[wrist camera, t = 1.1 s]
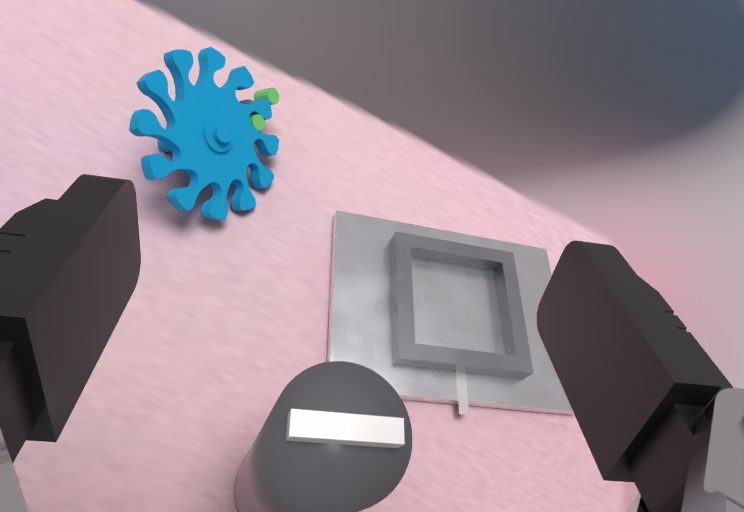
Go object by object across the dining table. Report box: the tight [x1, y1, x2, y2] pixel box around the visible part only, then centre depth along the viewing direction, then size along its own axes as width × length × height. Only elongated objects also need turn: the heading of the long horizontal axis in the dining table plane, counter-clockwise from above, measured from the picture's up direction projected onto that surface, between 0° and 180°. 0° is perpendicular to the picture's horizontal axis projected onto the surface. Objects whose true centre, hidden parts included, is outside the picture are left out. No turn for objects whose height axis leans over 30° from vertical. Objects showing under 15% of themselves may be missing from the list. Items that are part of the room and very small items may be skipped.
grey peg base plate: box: [327, 211, 574, 415], centre depth 34 cm, size 16×13×2 cm
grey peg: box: [234, 361, 412, 512], centre depth 21 cm, size 5×5×13 cm
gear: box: [129, 47, 279, 220], centre depth 33 cm, size 11×6×10 cm
